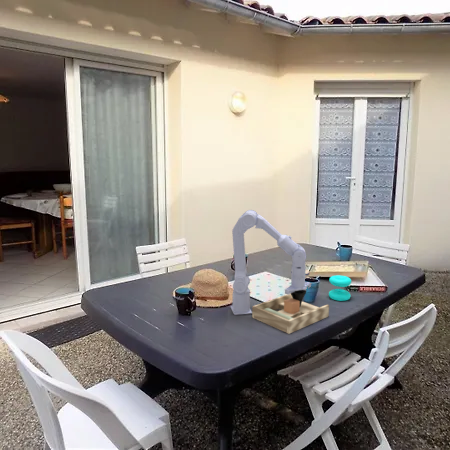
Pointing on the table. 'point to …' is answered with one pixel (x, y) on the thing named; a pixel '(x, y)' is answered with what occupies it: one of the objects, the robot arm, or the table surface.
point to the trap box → (288, 314)
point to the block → (291, 305)
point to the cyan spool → (339, 293)
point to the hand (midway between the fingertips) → (297, 306)
